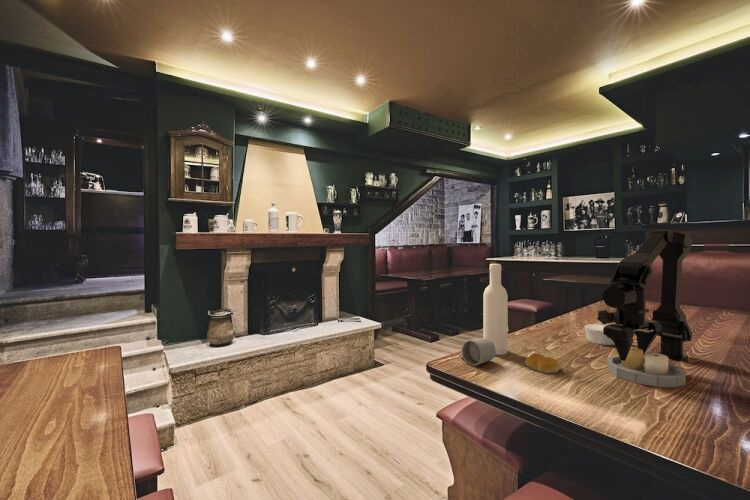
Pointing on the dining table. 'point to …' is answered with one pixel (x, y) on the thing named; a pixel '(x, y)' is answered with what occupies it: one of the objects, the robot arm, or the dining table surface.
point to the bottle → (496, 311)
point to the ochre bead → (634, 359)
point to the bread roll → (542, 363)
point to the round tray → (639, 376)
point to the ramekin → (597, 334)
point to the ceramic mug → (478, 351)
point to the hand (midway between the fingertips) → (632, 357)
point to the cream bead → (656, 364)
